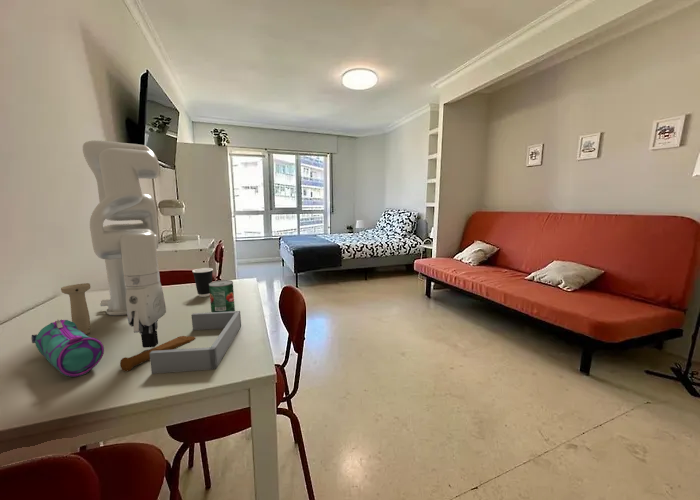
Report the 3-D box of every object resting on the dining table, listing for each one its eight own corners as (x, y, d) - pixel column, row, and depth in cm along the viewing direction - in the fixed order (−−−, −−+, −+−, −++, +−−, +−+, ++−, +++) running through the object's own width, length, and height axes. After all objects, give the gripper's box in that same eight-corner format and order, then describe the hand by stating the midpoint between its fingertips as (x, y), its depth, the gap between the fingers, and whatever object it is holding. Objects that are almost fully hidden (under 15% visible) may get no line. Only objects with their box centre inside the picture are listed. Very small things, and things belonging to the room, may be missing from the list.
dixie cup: (219, 294, 131) (217, 269, 129) (201, 299, 124) (199, 272, 122) (208, 291, 135) (206, 267, 133) (190, 295, 128) (188, 270, 127)
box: (151, 373, 70) (149, 353, 69) (194, 328, 95) (192, 313, 94) (216, 369, 72) (214, 349, 71) (241, 326, 97) (240, 310, 96)
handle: (98, 333, 92) (91, 285, 90) (69, 340, 88) (61, 289, 85) (95, 328, 96) (89, 282, 93) (68, 335, 91) (60, 286, 89)
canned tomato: (209, 311, 109) (206, 282, 108) (231, 307, 114) (229, 278, 112) (214, 318, 103) (211, 287, 101) (237, 313, 108) (235, 283, 106)
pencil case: (34, 359, 77) (28, 323, 76) (79, 345, 84) (74, 312, 83) (60, 386, 66) (52, 344, 64) (109, 367, 73) (103, 330, 71)
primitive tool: (182, 337, 90) (181, 326, 89) (197, 339, 88) (196, 328, 88) (117, 372, 72) (115, 358, 71) (135, 375, 70) (133, 361, 70)
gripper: (141, 287, 72) (150, 359, 75) (171, 272, 86) (177, 333, 89) (107, 288, 71) (117, 361, 74) (143, 273, 86) (150, 334, 89)
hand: (150, 345), depth 82 cm, fingers closed
